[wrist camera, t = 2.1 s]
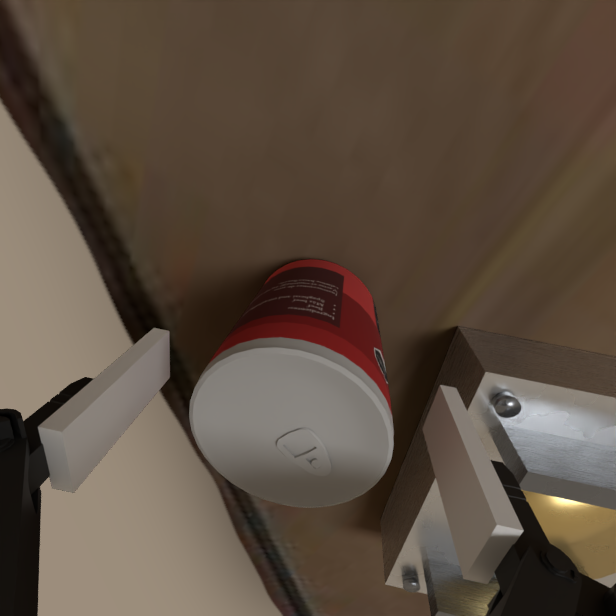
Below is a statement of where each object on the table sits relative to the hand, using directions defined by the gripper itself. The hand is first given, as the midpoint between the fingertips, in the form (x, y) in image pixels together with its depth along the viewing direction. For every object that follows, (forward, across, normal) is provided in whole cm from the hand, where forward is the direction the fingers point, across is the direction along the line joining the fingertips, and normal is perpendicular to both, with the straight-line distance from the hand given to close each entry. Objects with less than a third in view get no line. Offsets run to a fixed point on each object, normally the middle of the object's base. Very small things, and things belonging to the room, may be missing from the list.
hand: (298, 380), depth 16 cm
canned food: (+7, 0, 0) cm, 7 cm away
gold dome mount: (+7, +17, -8) cm, 20 cm away
